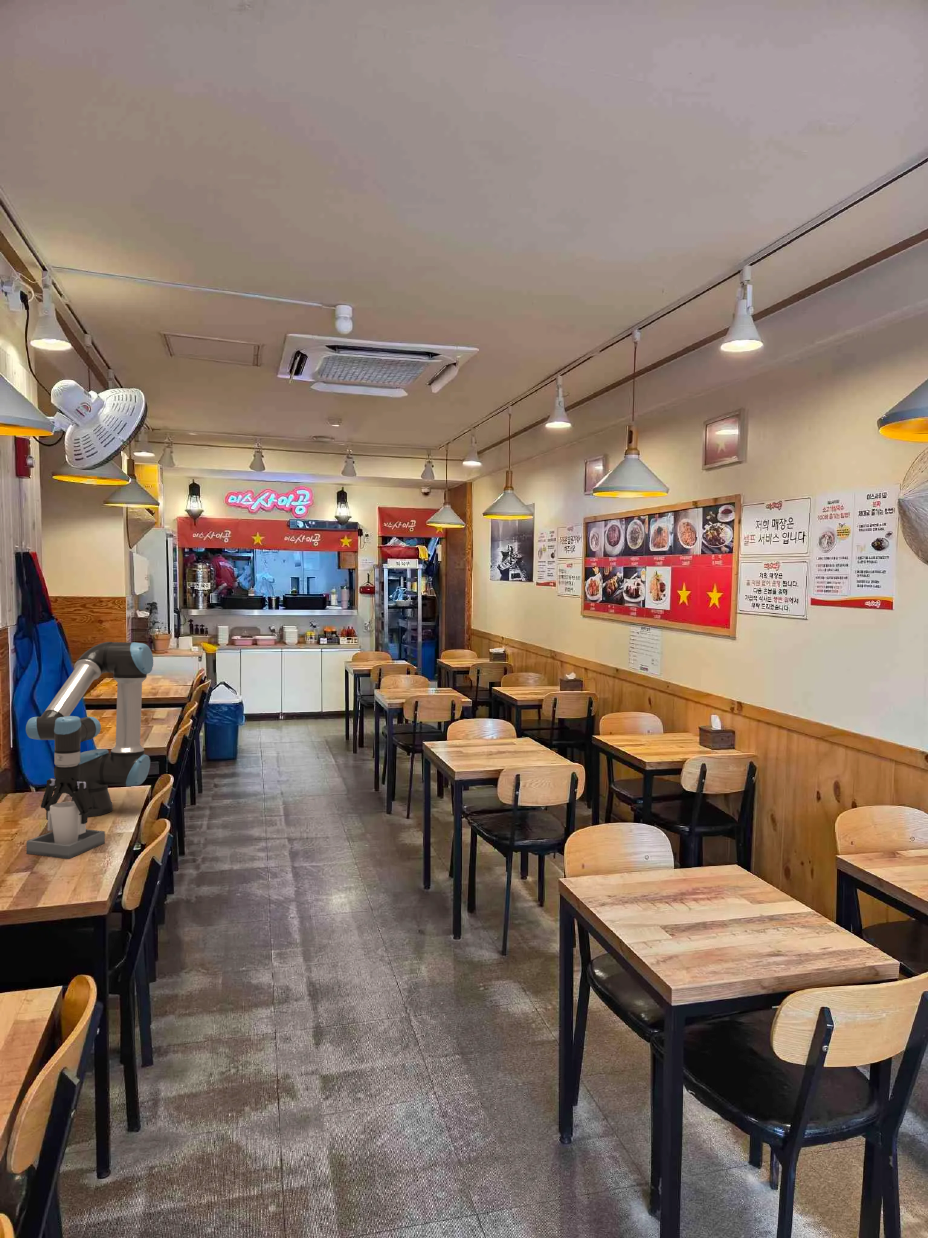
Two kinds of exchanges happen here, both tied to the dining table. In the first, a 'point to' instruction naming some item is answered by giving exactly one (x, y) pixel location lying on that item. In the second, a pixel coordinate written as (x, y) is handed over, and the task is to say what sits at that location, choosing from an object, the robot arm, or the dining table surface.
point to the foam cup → (65, 822)
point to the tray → (49, 848)
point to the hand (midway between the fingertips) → (66, 831)
